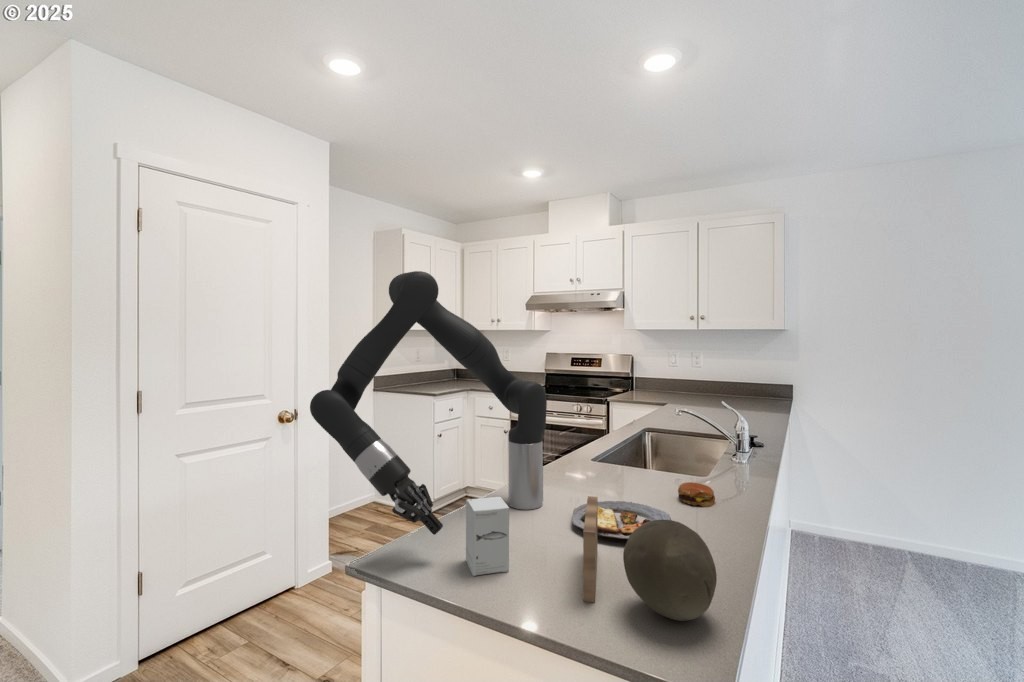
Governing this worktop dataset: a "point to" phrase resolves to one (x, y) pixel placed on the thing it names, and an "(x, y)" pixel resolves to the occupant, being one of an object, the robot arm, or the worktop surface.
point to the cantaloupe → (670, 569)
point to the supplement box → (487, 535)
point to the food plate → (609, 522)
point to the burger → (696, 494)
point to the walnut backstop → (590, 549)
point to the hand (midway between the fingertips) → (439, 530)
